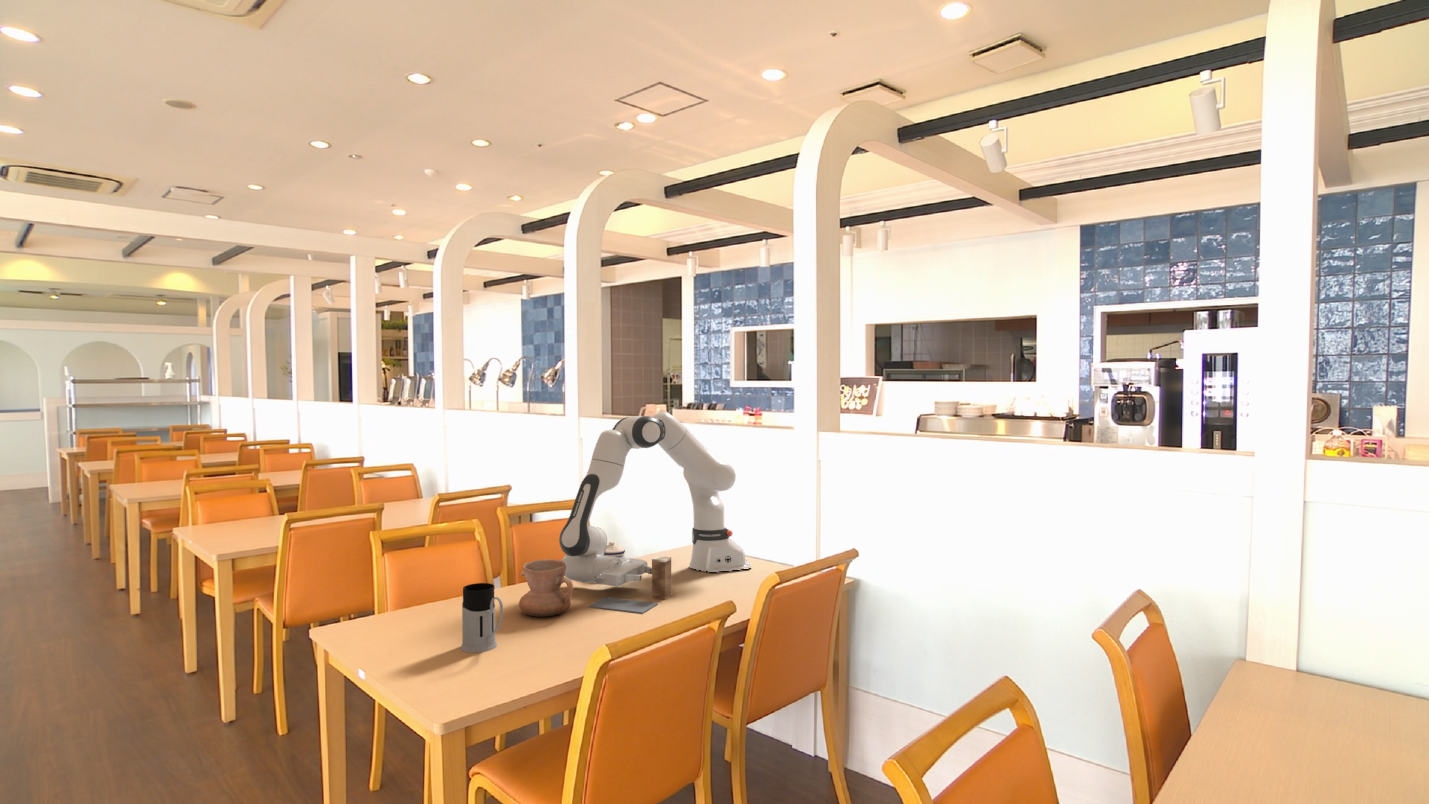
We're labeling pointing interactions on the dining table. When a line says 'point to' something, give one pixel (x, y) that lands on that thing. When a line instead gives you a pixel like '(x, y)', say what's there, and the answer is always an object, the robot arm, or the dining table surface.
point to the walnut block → (661, 577)
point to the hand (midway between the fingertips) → (647, 574)
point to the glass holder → (479, 618)
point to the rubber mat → (623, 605)
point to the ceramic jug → (545, 588)
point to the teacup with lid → (614, 550)
